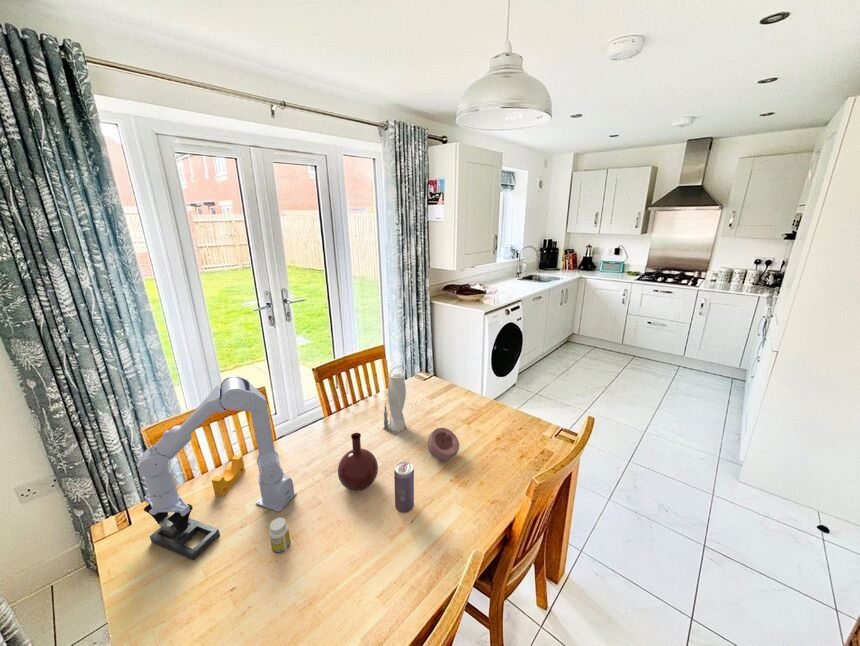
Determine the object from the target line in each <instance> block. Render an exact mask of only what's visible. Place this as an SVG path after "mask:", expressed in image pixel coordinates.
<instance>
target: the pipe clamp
mask: <svg viewBox="0 0 860 646" xmlns="http://www.w3.org/2000/svg"><path fill="white" fill-rule="evenodd" d="M245 470H246V469H245V463H244V458H243V455H238V454H235V455H234V456H233V457H232V458H231V462H230V464H228V466H227V467H226V468H225V469H224V472H223V473H222V475H215V476H214V477H213V478H212V479H211V483H212V489H213V491H214V496H215V497H224V495H225V494H226V493H227V492H228V490H229V489H230V488H231V487H232V486H233V485H234V484H235V482H237V480H238V479H240V476H241V475H242V474H243V473H244V471H245Z"/></svg>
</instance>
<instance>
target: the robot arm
mask: <svg viewBox="0 0 860 646" xmlns="http://www.w3.org/2000/svg"><path fill="white" fill-rule="evenodd" d="M227 410H228V411H242V412H243V411H245V412H250V414H251V420H252V425H253V429H254V435H255V439H256V445H257V451H258V456H257V459H256V464H257V466H258V473H259V474H258V477H257V479H258V484H259V485H258V486H259V490H260V496H261V497H259V499H257V500H256V501H255V504H256V505H258V506H261V507H264V508H267V509H271V510H273V511H276V512H281V511H282V510H283V509H284V508H285V507H286V506H287V505H288V503H289V502H290V501H291V500H292V499H293V497H295V495H296V494H297V492H296V491H295V487H294V483H293V479H292V478H291V477H289V476H287V475H286V474H285V472H284V470H283V468H282V467H281V462H280V458H279V454H278V452H277V451H276V450H275V444H274V438H273V432H272V427H271V422H270V414H269V408H268V403H267V399H266V396H265V395H264V394H263V393H262V392H261V391H259V390H258V389H257V388H256V387H255V386H254V385H252V383H251V382H250V381H249V380H248V379H247V378H244V377H241V376H238V375H231V376H227V377H225V378H224V379H223V380H222V382H221V383H220V384H218V385H216V386H215V387H214V388H213V389H212V391H211V392H210V393H209V394H208V396H207V397H206V398H205V399H203V400H202V402H201V403H200V404H199V405H198V406H197V407H196V408H195V409H194V410H193V412H191V414H190V415H189V416H188V417H187V418H186V419H185V420H184V421H183V422H182V424H179V425H173V426H172V427H171V428H169V429H166V430H164V432H163V433H162V437H161V438H160V439H159V440H158V441H157V442H156V443H154V444H153V445H150V446H149V447H148V448H147V449H146V450H144V451H143V453H142V455H141V458H140V462H139V465H138V472H139V474H140V476H142V477H144V482H145V485H146V488H147V491H148V493H147V494H146V495H145V496H144V501H145V503H146V504H147V503H148V504H147V505H146V506H145V507H144V508H143V511H144V512H146V513H148V514H149V515H150V516H151V517H152V518H153V519H154V521H155V522H156V523H157V524H158V525H159V526H160V523H159V522H161V521H162V520H163V519H164V518H166V517H167V516H168V515H169V513H172V512H175V513H174V514H173V515H171V516H170V517H169V518H168V519H167V520H169V521H171V522H172V523H173V524H174V526H175V527H176V530H177V531H178V532H179V533H180V534H181V533H182V532H183V531H185V530H186V529H187V528H188V519H189V518H190V515H191V512H192V510H193V507H194V506H193V504H189V503H186V502H185V501H184V500H183V497H182V496H181V495H180V494H179V493H178V488H177V485H176V482H175V481H176V480H175V478H174V473H173V470H172V468H171V465H170V461H172V459H174V457H176V456H177V455H178V453H180V452H181V450H183V448H185V446H187V445H188V443H190V441H191V440H192V439H193V434H192V433H193V432H194V431H195V430H196V429H197V428H198V427H200V425H203V423H204V422H205V421H207V419H208V418H210V417H211V416H212V415H213V414H214V413H227Z"/></svg>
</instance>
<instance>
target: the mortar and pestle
mask: <svg viewBox="0 0 860 646" xmlns="http://www.w3.org/2000/svg"><path fill="white" fill-rule="evenodd" d="M426 445H427V449H428V452H429V454H430V455H431V457H433V458H434V459H435V460H437V461H440V462H447V461H450V460H452V459H454V457H456V455H458V452H459V450H460V441H459V438H458V437H457V435H456V434H455V433H454V432H453V431H452V430H450V429H448V428H446V427H437V428H435V429H433V431H431V433H430V434H429V436H428V438H427V444H426Z"/></svg>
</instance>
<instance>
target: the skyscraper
mask: <svg viewBox="0 0 860 646" xmlns="http://www.w3.org/2000/svg"><path fill="white" fill-rule="evenodd" d="M397 368H398V369H399V368H402V369H401V371H399V370H398V371H397V370H395V369H397ZM404 369H405V366H401V365H399V366H395V367H393V368H392V369H391V370H390V371H389V375H388V382H387V383H388V385H387V399H388V406H389V410H390V411H389V412H390V418H389V419H388V413H389V412H388V411H387V406H386V405H387V403H386V402H384V405H385V406H384V411H383V416H384V417H383V425H384V426H383V428H382V430H384V429H385V431H386V430H387V431H386V432H388V431H389V432H388V433H390V432H391V433H390V434H392V433H393V435H394V434H395V435H394V436H396V435H398V434H399V433H400V432H402V431H403V430H404V429H405V427H406V428H407V424H406V421H405V418H404V413H403V409H404V406H405V404H406V403H405V402H406V399H407V397H406V396H407V388H406V382H405V377H404V373H403V371H404ZM393 370H395V371H393ZM403 428H404V429H403ZM402 429H403V430H402ZM401 430H402V431H401ZM399 431H400V432H399ZM398 432H399V433H398ZM397 433H398V434H397Z"/></svg>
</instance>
